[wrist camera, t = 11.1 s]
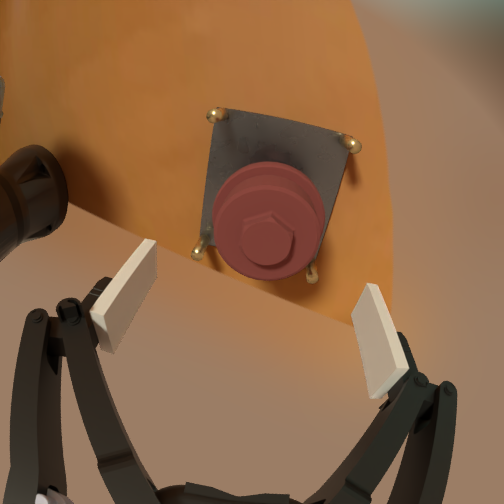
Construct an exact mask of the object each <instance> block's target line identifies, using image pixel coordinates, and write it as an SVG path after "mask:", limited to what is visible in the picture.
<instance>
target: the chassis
mask: <svg viewBox="0 0 504 504" xmlns="http://www.w3.org/2000/svg"><path fill="white" fill-rule="evenodd" d="M207 120H208V121H209V122H211V123H214V127H213V134H212V140H211V147H210V154H209V162H208V169H207V177H206V185H205V193H204V201H203V210H202V219H201V229H200V238H199V240H198V241H197V243H196V245H195V247H194V249H193V251H192V253H191V257H192V258H193V259H194V260H196V261H200V260H201V259H202V258H203V256H204V253H205V251H206V249H207V247H208V245H211V246H216V244H215V240H214V227H213V221H212V209H213V204H214V201H215V198H216V195H217V193H218V192H219V190H220V188H221V187H222V185H223V184H224V182H225V181H226V180H227V179H228V178H229V177H230V176H231V175H232V174H233V173H235V172H236V171H237V170H239V169H241V168H243V167H245V166H247V165H250V164H253V163H258V162H278V163H283V164H286V165H289V166H292V167H294V168H296V169H297V170H299V171H301V172H302V173H303V174H305V175H306V176H307V177H308V178H309V179H310V180H311V181H312V182H313V184H314V185H315V187H316V188H317V190H318V192H319V194H320V196H321V199H322V201H323V205H324V209H325V226H324V230H323V233H322V236H321V238H320V243H319V246H318V250H317V252H316V254H315V256H314V257H313V259H312V260H311V262H310V263H309V264H308V265H307V266H306V267H305V270H306V278H307V282H308V283H311V284H314V283H316V282H317V281H318V279H319V278H318V272H317V267H316V262H315V260H316V257H317V254H318V251H319V248H320V245H321V242H322V239H323V236H324V233H325V230H326V227H327V224H328V221H329V218H330V215H331V212H332V208H333V205H334V202H335V199H336V195H337V192H338V189H339V185H340V182H341V179H342V175H343V172H344V168H345V164H346V161H347V157H348V154H349V151H350V152H351V153H354V154H356V153H359V152H360V151H361V148H362V145H361V143H360V142H359V141H358V140H356V139H354V138H353V137H352V136H349V135H346V134H343V133H339V132H336V131H332V130H329V129H325V128H321V127H317V126H313V125H309V124H305V123H301V122H297V121H293V120H288V119H283V118H279V117H274V116H269V115H263V114H258V113H252V112H246V111H240V110H234V109H227V108H219V107H217V109H211V110H209V111H208V113H207Z"/></svg>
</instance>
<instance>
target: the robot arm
mask: <svg viewBox="0 0 504 504" xmlns="http://www.w3.org/2000/svg"><path fill="white" fill-rule="evenodd" d="M4 91H5V82H4V79H3V78H2V77H1V76H0V122H1V118H2V116H3V112H2V106H3V98H4ZM67 206H68V193H67V186H66V182H65V178H64V175H63V172H62V170H61V168H60V166H59V164H58V162H57V160H56V159H55V158H54V156H53V155H52V154H51V153H50V152H49V151H48V150H47V149H45V148H44V147H42V146H39V145H29V146H26V147H24V148H21V149H19V150H17V151H16V152H15V153H13V154H12V155H11V156H10V157H9V158H8V159H7V160H6V161H5V162H4V163H3V164H2V165H1V166H0V262H1V261H2V260H3V259H4V258H5V257H6V256H7V255H8V254H9V253H10V252H12V251H13V250H14V249H15V248H16V247H17V246H19V245H20V244H21V243H24V242H27V241H30V240H34V239H37V238H41V237H45V236H47V235H49V234H50V233H52V232H53V231H55V230H56V229H57V228H58V227H59V226H60V225H61V224H62V223H63V221H64V219H65V216H66V213H67ZM156 247H157V241H154V240H149V239H144V241H143V242H142V243H141V244H140V245H139V247H138V248H137V249H136V250H135V252H134V253H133V254H132V255H131V257H130V258H129V259H128V260H127V261H126V263H125V264H124V265H123V267H122V268H121V269H120V271H119V272H118V273H117V274H116V275H115V277H114V278H113V279H112V278H109V277H104V278H103V279H101V280H99V281H98V282H97V283H96V285H95V286H94V287H93V289H92V290H91V291H90V292H89V294H88V295H87V296H86V297H85V299H84V300H83V301H82V303H80V301H79V300H78V299H76V298H66V299H63V300H62V301H60V302H59V303H58V305H57V307H56V312H57V315H58V317H49V316H48V313H47V311H46V310H44V309H40V308H38V309H34V310H32V311H31V312H30V313H29V314H28V315H27V317H26V321H25V325H24V329H23V333H22V337H21V342H20V347H19V352H18V357H17V363H16V369H15V376H14V383H13V391H12V402H11V416H10V463H11V467H10V471H9V475H8V480H7V484H6V489H5V494H4V499H3V504H74V503H73V502H72V501H71V500H70V499H69V498H68V497H67V484H66V474H65V466H64V458H63V448H62V436H61V408H60V407H61V406H60V404H61V403H60V402H61V396H60V395H61V394H60V393H61V368H62V356H64V357H67V363H68V368H69V372H70V377H71V381H72V385H73V389H74V392H75V396H76V399H77V403H78V406H79V410H80V413H81V416H82V419H83V423H84V426H85V428H86V431H87V434H88V437H89V440H90V442H91V445H92V447H93V450H94V452H95V455H96V458H97V460H98V464H97V465H98V469H99V471H100V474H101V476H102V478H103V480H104V483H105V485H106V487H107V489H108V491H109V493H110V494H111V497H112V498H113V500H114V502H115V504H370V503H371V501H372V498H371V494H372V492H373V491H374V490H375V488H376V487H377V485H378V484H379V482H380V481H381V479H382V477H383V476H384V475H385V473H386V471H387V470H388V468H389V467H390V465H391V463H392V462H393V460H394V458H395V457H396V455H397V453H398V451H399V450H400V448H401V446H402V444H403V442H404V440H405V439H406V437H407V435H408V433H409V435H408V439H407V443H406V447H405V451H404V454H403V458H402V461H401V465H400V468H399V471H398V474H397V477H396V480H395V483H394V486H393V489H392V492H391V495H390V497H389V500H388V503H387V504H442V501H443V497H444V493H445V489H446V485H447V480H448V475H449V470H450V464H451V458H452V451H453V444H454V436H455V425H456V411H457V390H456V388H455V386H454V385H453V384H452V383H451V382H449V381H443V382H442V383H441V384H440V385H439V386H438V385H434V384H431V383H429V380H428V378H427V377H426V376H425V375H424V374H423V373H421V372H418V370H417V367H416V364H415V361H414V358H413V356H412V353H411V350H410V347H409V345H408V342H407V340H406V338H405V336H404V335H403V334H402V333H401V332H396V329H395V327H394V324H393V322H392V319H391V317H390V314H389V312H388V309H387V307H386V304H385V302H384V299H383V297H382V294H381V292H380V290H379V287H378V285H376V284H371V283H367V284H366V286H365V288H364V290H363V292H362V294H361V296H360V298H359V300H358V302H357V304H356V306H355V308H354V310H353V312H352V314H351V317H352V321H353V325H354V329H355V333H356V337H357V341H358V345H359V349H360V354H361V358H362V363H363V368H364V373H365V377H366V382H367V387H368V393H369V398H371V399H377V398H379V399H380V398H382V397H383V396H384V395H385V394H386V393H388V397H389V398H388V399H387V400H386V401H385V402H384V403H383V404H382V405H381V406H380V407H379V409H380V411H379V413H378V414H377V416H376V417H375V419H374V420H373V422H372V423H371V425H370V426H369V428H368V429H367V430H366V432H365V433H364V435H363V436H362V437H361V439H360V440H359V442H358V443H357V444H356V446H355V447H354V448H353V450H352V451H351V452H350V454H349V455H348V456H347V457H346V459H345V460H344V461H343V462H342V464H341V465H340V466H339V467H338V469H337V470H336V471H335V472H334V473H333V475H332V476H331V477H330V478H329V479H328V480H327V481H326V482H325V483H324V485H323V486H322V487H321V488H320V489H319V490H318V491H317V492H316V493H314V494H313V495H312V496H311V497H309V498H308V499H307V500H306V501H305V502H304V503H300V502H298V501H296V500H294V499H290V498H289V496H290V495H288V494H266V493H265V494H258V495H250V496H241V497H238V496H234V495H231V494H229V493H226V492H223V491H220V490H218V489H215V488H213V487H209V486H203V485H198V484H194V483H189V482H186V485H174V486H169V487H165V488H162V489H160V490H157V488H156V486H155V485H154V483H153V481H152V480H151V478H150V477H149V475H148V473H147V471H146V470H145V468H144V466H143V465H142V463H141V461H140V459H139V457H138V455H137V453H136V451H135V449H134V447H133V445H132V443H131V441H130V439H129V437H128V434H127V432H126V430H125V428H124V426H123V423H122V421H121V419H120V416H119V414H118V412H117V409H116V407H115V404H114V401H113V399H112V396H111V394H110V391H109V388H108V385H107V383H106V380H105V377H104V374H103V371H102V368H101V365H100V362H99V358H98V355H97V351H96V349H95V348H96V347H97V345H98V343H99V345H100V348H101V350H104V351H106V352H109V353H112V354H114V353H115V351H116V349H117V347H118V345H119V344H120V342H121V340H122V338H123V336H124V334H125V332H126V330H127V329H128V327H129V325H130V323H131V322H132V320H133V318H134V316H135V314H136V312H137V311H138V309H139V307H140V305H141V304H142V302H143V300H144V299H145V297H146V295H147V293H148V291H149V290H150V288H151V287H152V285H153V283H154V282H155V280H156V278H157V257H156V255H157V254H156V253H157V251H156V249H157V248H156Z"/></svg>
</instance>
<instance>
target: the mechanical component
mask: <svg viewBox="0 0 504 504" xmlns="http://www.w3.org/2000/svg"><path fill="white" fill-rule="evenodd" d="M212 221H213V227H214V240H215V244H216V247H217V249H218V252H219V254H220V255H221V257H222V258H223V260H224V261H225V262H226V263H227V264H228V265H229V266H230V267H231V268H233V269H234V270H235V271H237V272H238V273H240V274H242V275H244V276H247V277H249V278H253V279H257V280H264V281H272V280H280V279H284V278H287V277H290V276H292V275H294V274H296V273H298V272H300V271H301V270H302V269H304V268H305V267H306V266H307V265H308V264H309V263H310V262H311V260H312V259H313V257H314V256H315V254H316V252H317V250H318V246H319V243H320V238H321V236H322V233H323V230H324V226H325V209H324V205H323V201H322V199H321V196H320V194H319V192H318V190H317V188H316V187H315V185H314V184H313V182H312V181H311V180H310V179H309V178H308V177H307V176H306V175H305V174H303V173H302V172H301V171H299V170H297V169H296V168H294V167H292V166H289V165H286V164H283V163H278V162H258V163H253V164H250V165H247V166H245V167H243V168H241V169H239V170H237V171H236V172H235V173H233V174H232V175H231V176H230V177H229V178H228V179H227V180H226V181H225V182H224V184H223V185H222V187H221V188H220V190H219V192H218V193H217V195H216V198H215V201H214V204H213V209H212Z"/></svg>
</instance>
